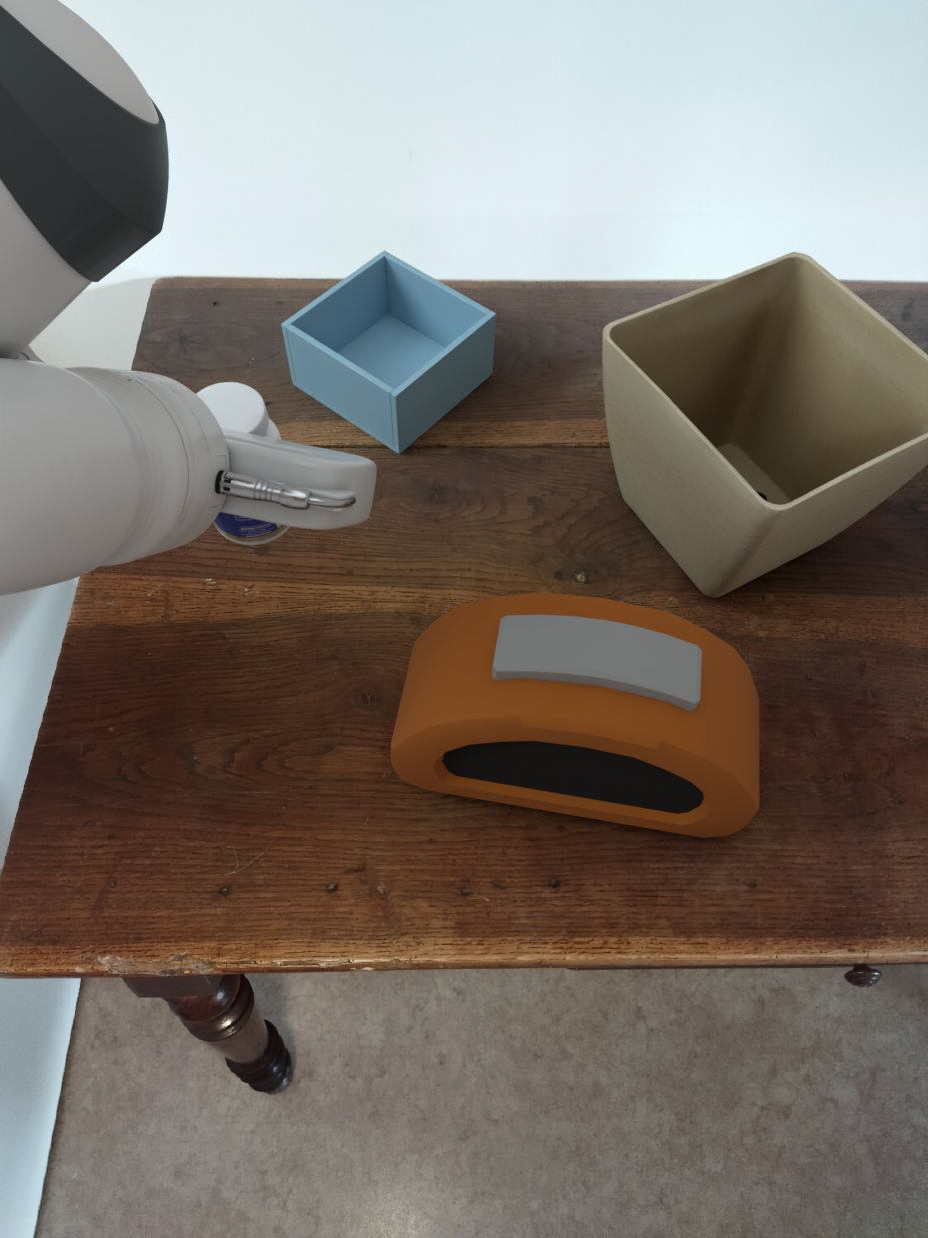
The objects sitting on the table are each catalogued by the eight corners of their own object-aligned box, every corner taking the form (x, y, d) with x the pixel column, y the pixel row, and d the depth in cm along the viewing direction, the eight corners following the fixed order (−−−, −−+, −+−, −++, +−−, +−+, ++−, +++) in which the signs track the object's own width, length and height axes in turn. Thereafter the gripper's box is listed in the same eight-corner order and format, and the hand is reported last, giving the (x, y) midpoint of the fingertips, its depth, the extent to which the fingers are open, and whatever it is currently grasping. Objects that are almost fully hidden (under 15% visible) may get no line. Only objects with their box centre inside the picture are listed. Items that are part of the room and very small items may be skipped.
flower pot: (738, 405, 82) (802, 244, 67) (885, 551, 73) (993, 404, 59) (567, 483, 76) (596, 327, 62) (703, 650, 68) (773, 515, 54)
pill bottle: (204, 496, 61) (165, 389, 52) (284, 472, 62) (258, 364, 54) (226, 559, 58) (188, 457, 50) (309, 533, 59) (286, 429, 51)
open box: (292, 384, 82) (280, 323, 76) (388, 311, 87) (384, 249, 81) (399, 454, 78) (395, 396, 72) (492, 373, 83) (496, 313, 77)
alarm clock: (391, 792, 62) (376, 683, 47) (417, 680, 66) (410, 549, 52) (729, 851, 60) (819, 756, 46) (731, 731, 65) (814, 610, 50)
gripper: (346, 440, 41) (410, 435, 54) (-58, 360, 43) (100, 373, 56) (327, 572, 42) (393, 535, 55) (-62, 488, 44) (92, 472, 58)
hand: (243, 453), depth 56 cm, fingers closed on pill bottle, 6 cm apart
